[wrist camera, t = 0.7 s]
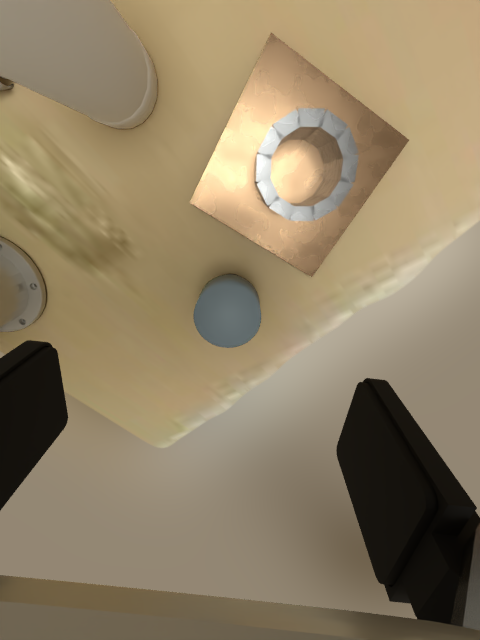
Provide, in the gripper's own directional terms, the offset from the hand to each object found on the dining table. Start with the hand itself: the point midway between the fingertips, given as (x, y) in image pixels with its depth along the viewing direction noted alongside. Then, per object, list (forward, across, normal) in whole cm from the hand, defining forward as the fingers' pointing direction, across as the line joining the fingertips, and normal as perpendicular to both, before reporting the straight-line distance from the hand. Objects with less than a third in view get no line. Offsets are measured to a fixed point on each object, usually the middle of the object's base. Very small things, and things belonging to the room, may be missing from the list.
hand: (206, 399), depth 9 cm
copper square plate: (+28, -5, -8) cm, 29 cm away
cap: (+28, 0, +6) cm, 28 cm away
